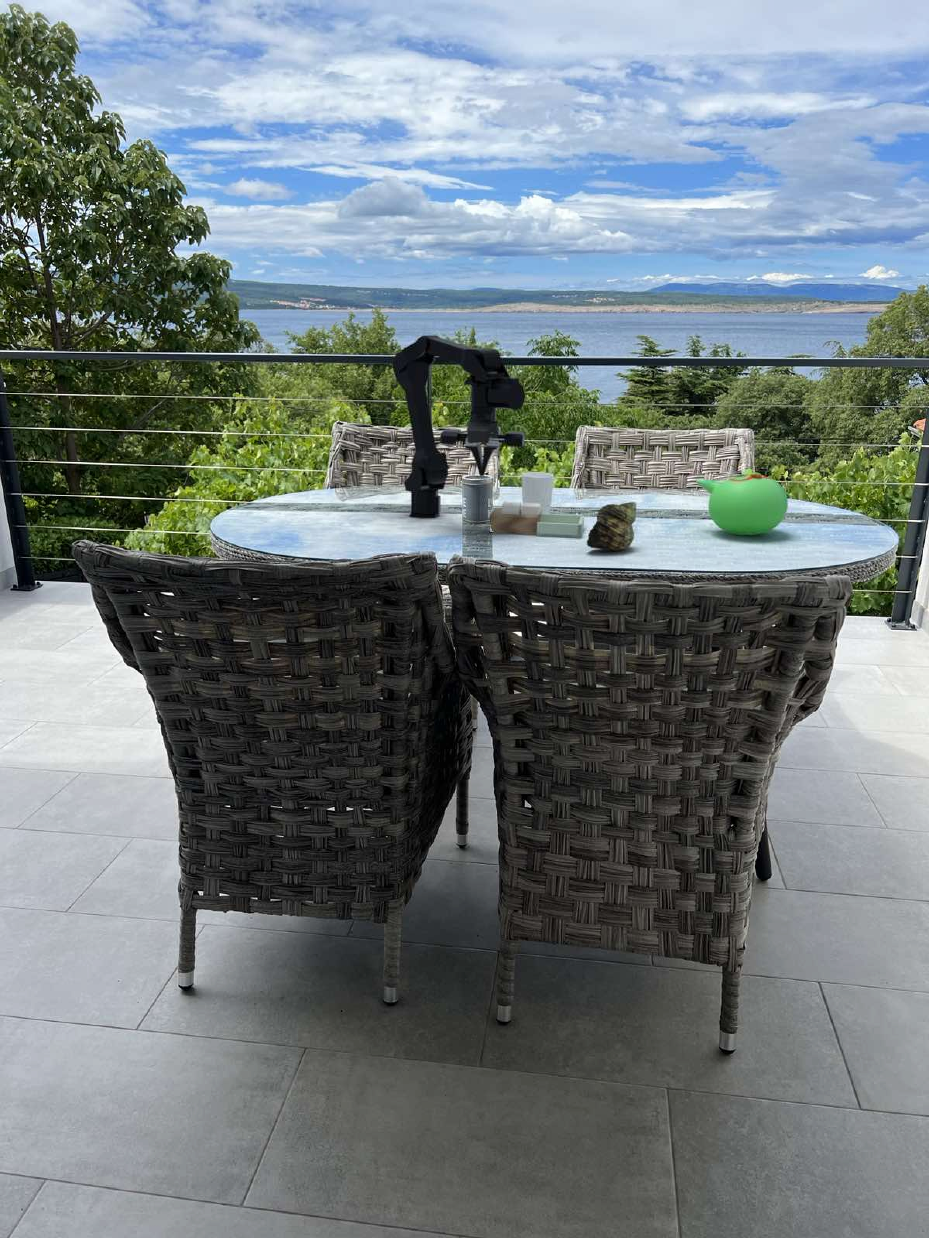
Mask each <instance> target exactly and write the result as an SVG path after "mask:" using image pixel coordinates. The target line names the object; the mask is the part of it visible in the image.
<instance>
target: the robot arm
mask: <svg viewBox="0 0 929 1238" xmlns="http://www.w3.org/2000/svg"><path fill="white" fill-rule="evenodd" d="M393 358H394V359H393V360H392V361H391V362H392V371H393V374H394V376H395V381H396V382H397V383H398V384H399V386H400V387H401V388H402V389H403V391H404V394H405V399H406V404H407V410H408V415H409V422H410V426H411V433H412V437H413V445H414V449H415V452H414V454H413V457H412V459H411V472H410V473H409V475H408V477H407V478H406V479H405V481H404V483H403V484H404V487H405V488H404V489H405V491H406V492H410V506H411V507H410V513H409V517H413V518H414V517H415V518H416V517H418V518H420V517H421V518H436V517H437V516H438V515H440V513H441V507H442V506H441V502H442V501H441V499H442V498H441V495H439V491H440V490H444V489H445V485H446V481H447V478H448V477H449V471H448V470H450V466H449V464H448V459H447V454H446V453H445V452H440V450H439V449H438V448H437V445H436V441H435V434H434V429H433V424H432V418H431V412H430V407H429V401H428V396H427V390H426V386H427V383H428V380H429V377H430V370H429V369H430V366H432V364H434V363H435V362H436V359H437V358H440V359H442V360H445V361H449V362H452V363H454V364H457V365H459V366H461V368H462V370H463V371H465V372H466V373H467V374H469V376H468V377H467V379H466V380H465V381H464V382H463V384H464V385H465V386H470V415H469V416H470V417H469V421H468V425H467V426H466V427H467V428H466V432H462V429H459V428H458V429H455V428H454V429H453V428H446V429H444V430H443V431H442V432H440V439H439V441H440V442H439V443H440V444H441V445H454V444H455V443H457V442H465V446H464V447H465V449H467V450H469V451H470V452H471V453H472V456H473V458H474V460H475V464H476V467H477V470H478V473H479V476H480V477H484V476H485V474H486V471H487V468H488V464H489V462H490V460H491V458H492V455H493V453H494V451H495V450H498V449H499V448H500V447H501V444H500V443H504V444H506V446H507V447H516V448H517V447H520V448H521V447H524V445H525V443H526V436H525V433H524V431H522V430H521V431H515V430H508V431H507V432H506V433H504V434H502V433H500V425H499V424H500V423H499V421H498V420H497V421H496V419H497V417H496V416H497V409H502V410H510V411H518V410H520V409H521V408H522V407H523V405H524V403H525V400H526V393H525V389H524V387H523V386H522V385H521V384H520V378H519V377H511V376H510V374H509V371H508V370H507V368H506V366H505V364H504V361H503V359H502V357H501V354H500V351H499V350H498V349H496V348H486V347H469V346H467V345H464V344H460V343H458V342H454V341H451V340H448V339H445V338H442V337H440V336H438V335H432V334H431V335H430V334H429V335H422V336H420V337H418V338H417V339H416V340H415V341H414V342H413V343H411V344H409V345H408V346H406V347H404V348H403V349H401V351H399V352H397V353H396V355H395V356H394V357H393ZM499 433H500V434H499ZM482 445H485V446H483V449H482Z"/></svg>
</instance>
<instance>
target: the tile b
mask: <svg viewBox="0 0 929 1238" xmlns="http://www.w3.org/2000/svg"><path fill="white" fill-rule="evenodd" d="M540 511H541V504H538V503H523V502H522V504H521V515H538V516H539V514H540Z"/></svg>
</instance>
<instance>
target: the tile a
mask: <svg viewBox="0 0 929 1238" xmlns="http://www.w3.org/2000/svg"><path fill="white" fill-rule="evenodd" d="M501 508H502V514H516V515H519V514H520V512H521V509H522V502H514V501H513V502H512V501H504V502H503V503H502V504H501Z"/></svg>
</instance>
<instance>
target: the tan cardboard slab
mask: <svg viewBox="0 0 929 1238" xmlns="http://www.w3.org/2000/svg"><path fill="white" fill-rule="evenodd" d="M489 515H490V525H491V529H492V531H493V533H492V534H505V535H506V534H507V535H508V534H510V535H513V534H514V535H527V536H528V535H529V536H537V522H541V511H540V514H539V516H538V515H521V512H520V514H519V515H516V514H502V507H501V508H499V507H495V508H493V510H492V511H491V513H490V514H489Z"/></svg>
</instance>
